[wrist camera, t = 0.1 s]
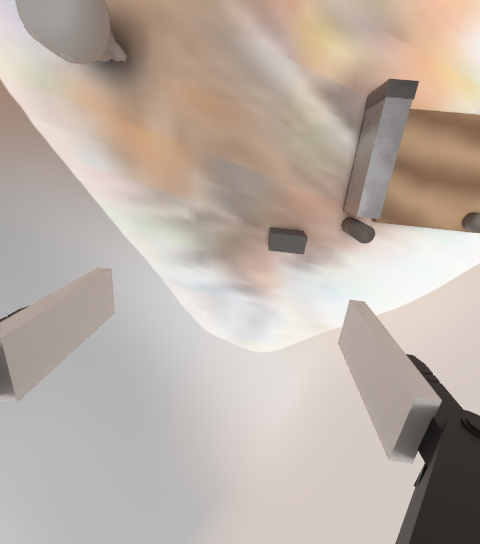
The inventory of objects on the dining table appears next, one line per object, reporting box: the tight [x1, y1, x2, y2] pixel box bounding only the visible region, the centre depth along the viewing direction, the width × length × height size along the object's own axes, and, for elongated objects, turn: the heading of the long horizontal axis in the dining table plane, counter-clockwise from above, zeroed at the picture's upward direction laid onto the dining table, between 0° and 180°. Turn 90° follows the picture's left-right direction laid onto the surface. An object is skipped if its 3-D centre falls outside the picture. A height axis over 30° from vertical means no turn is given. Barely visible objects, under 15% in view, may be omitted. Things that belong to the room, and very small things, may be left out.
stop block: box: [268, 228, 307, 254], centre depth 39 cm, size 2×5×4 cm, turn 85°
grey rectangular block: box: [343, 79, 419, 219], centre depth 33 cm, size 14×3×6 cm, turn 175°
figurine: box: [16, 0, 127, 64], centre depth 29 cm, size 8×8×12 cm
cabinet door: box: [341, 109, 480, 243], centre depth 34 cm, size 16×18×7 cm
